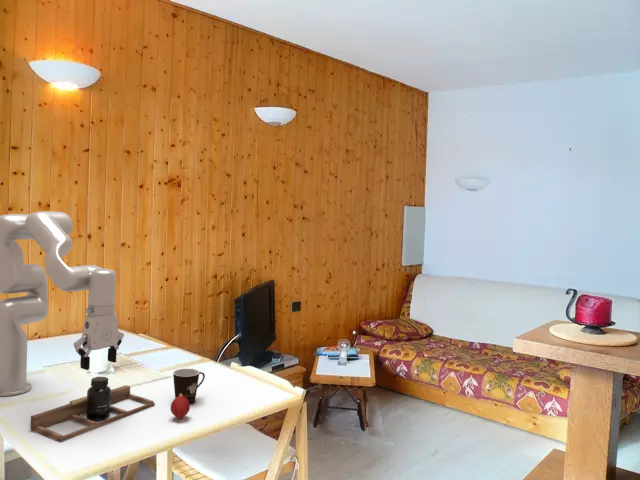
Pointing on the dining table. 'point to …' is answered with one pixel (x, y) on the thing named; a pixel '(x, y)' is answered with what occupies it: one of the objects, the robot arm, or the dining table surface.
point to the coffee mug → (187, 383)
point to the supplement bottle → (98, 399)
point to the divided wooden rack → (79, 408)
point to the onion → (180, 406)
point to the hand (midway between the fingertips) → (98, 365)
